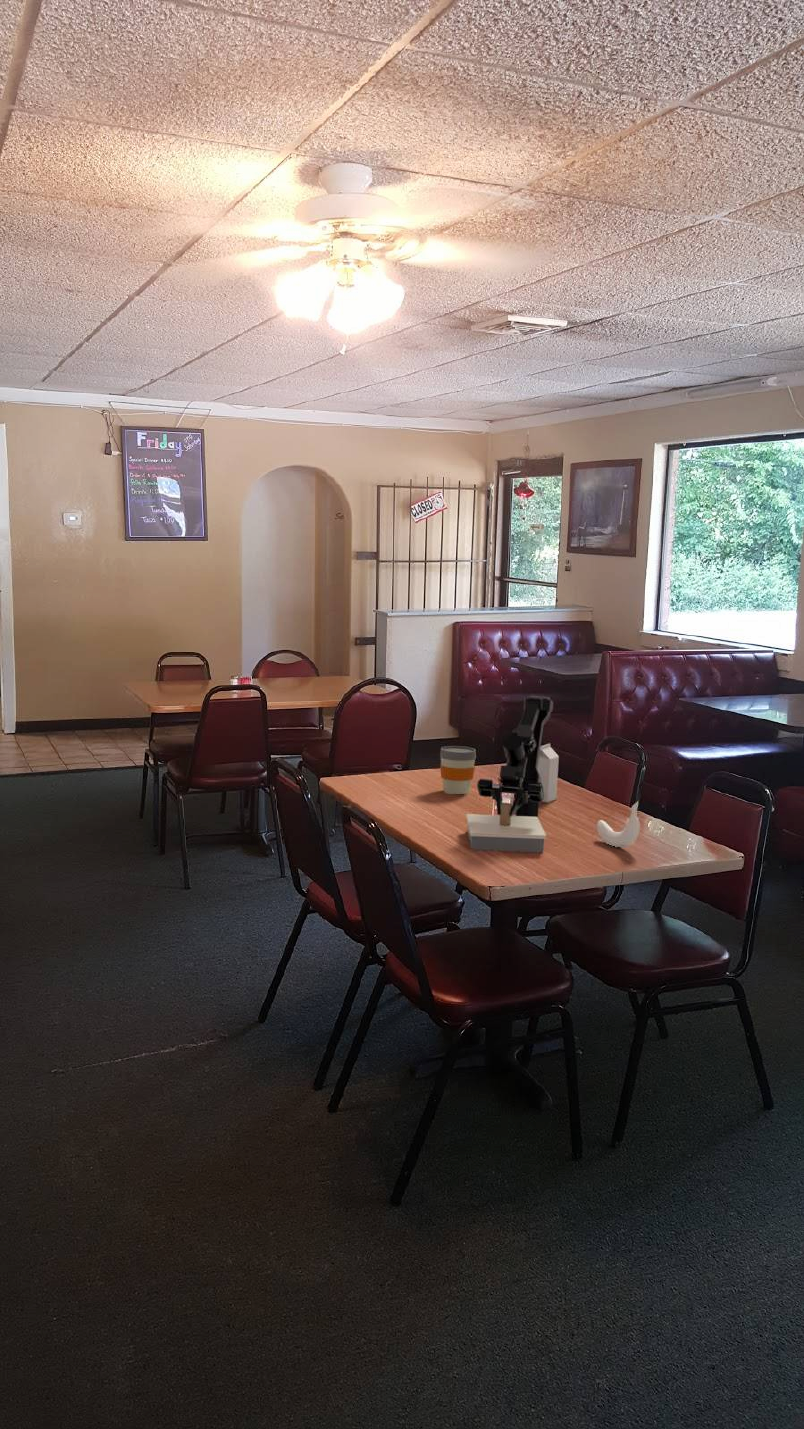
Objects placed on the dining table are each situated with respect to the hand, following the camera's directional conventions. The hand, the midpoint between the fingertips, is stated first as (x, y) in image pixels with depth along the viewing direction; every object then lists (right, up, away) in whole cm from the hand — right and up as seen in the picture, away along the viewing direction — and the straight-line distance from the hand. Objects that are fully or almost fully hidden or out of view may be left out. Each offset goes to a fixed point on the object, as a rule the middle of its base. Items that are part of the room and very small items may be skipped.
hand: (504, 815), depth 306 cm
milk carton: (+18, 0, +58) cm, 61 cm away
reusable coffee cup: (-11, +2, +65) cm, 66 cm away
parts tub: (0, -8, +3) cm, 8 cm away
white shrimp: (+32, -9, +3) cm, 33 cm away
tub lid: (0, -5, +2) cm, 5 cm away
